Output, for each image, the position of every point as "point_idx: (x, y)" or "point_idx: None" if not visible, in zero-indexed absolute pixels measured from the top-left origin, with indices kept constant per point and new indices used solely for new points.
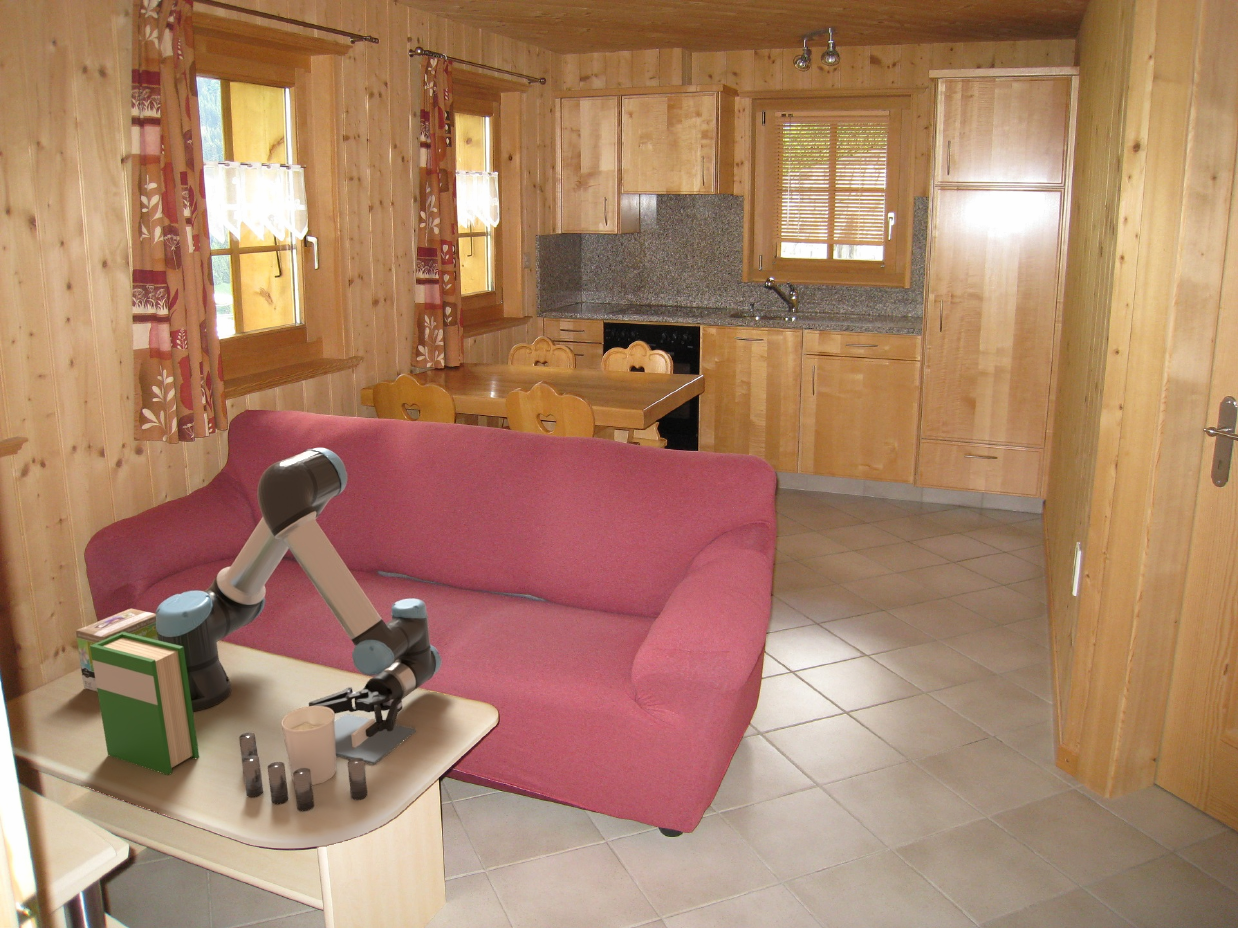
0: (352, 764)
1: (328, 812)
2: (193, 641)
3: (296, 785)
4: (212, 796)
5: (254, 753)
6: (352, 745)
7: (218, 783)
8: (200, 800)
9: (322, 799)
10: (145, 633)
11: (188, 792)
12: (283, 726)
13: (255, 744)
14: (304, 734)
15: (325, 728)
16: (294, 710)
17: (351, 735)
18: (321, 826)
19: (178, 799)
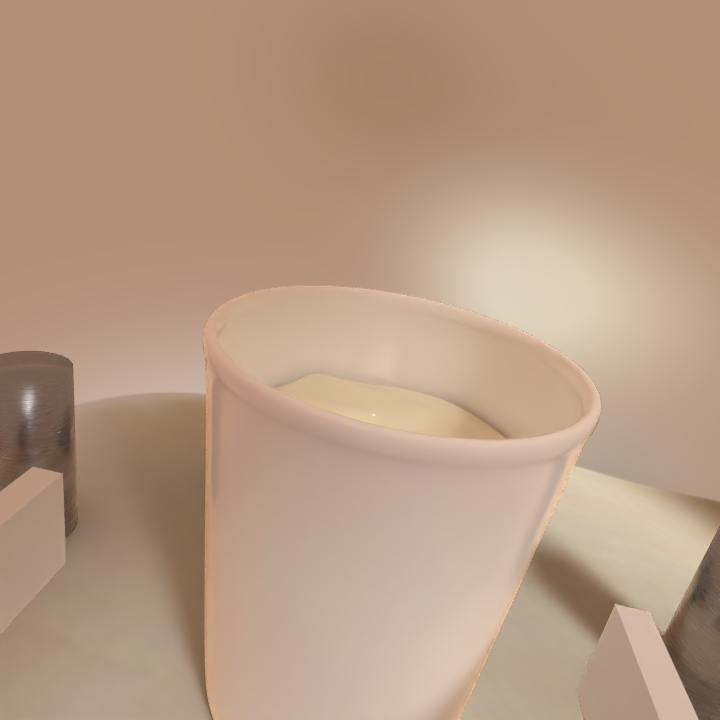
0: (44, 359)
1: (157, 454)
2: None
3: None
4: (609, 518)
5: (686, 602)
6: (64, 552)
7: (679, 578)
8: (619, 502)
9: (204, 506)
10: None
11: (704, 533)
12: (478, 315)
13: (716, 581)
14: (332, 310)
15: (235, 327)
16: (595, 405)
17: (62, 482)
18: (163, 413)
19: (685, 506)
